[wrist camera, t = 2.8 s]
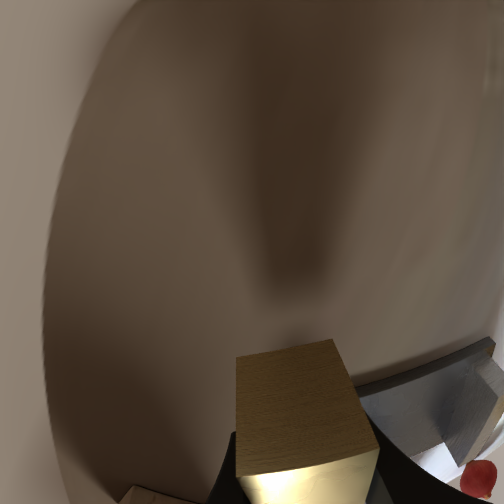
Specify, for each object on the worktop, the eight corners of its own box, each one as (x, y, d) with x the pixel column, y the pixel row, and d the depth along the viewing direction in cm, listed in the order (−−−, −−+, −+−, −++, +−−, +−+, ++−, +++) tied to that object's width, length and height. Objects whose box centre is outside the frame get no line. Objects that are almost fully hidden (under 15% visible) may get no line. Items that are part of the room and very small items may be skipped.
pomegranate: (488, 449, 25) (509, 484, 18) (460, 473, 27) (477, 508, 19) (478, 447, 24) (502, 486, 17) (447, 473, 26) (466, 512, 18)
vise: (455, 427, 21) (475, 460, 16) (281, 483, 21) (287, 527, 16) (488, 336, 17) (525, 372, 12) (259, 408, 17) (265, 472, 13)
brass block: (334, 432, 12) (359, 517, 7) (263, 446, 12) (270, 534, 8) (332, 338, 10) (380, 448, 6) (236, 356, 10) (236, 477, 6)
